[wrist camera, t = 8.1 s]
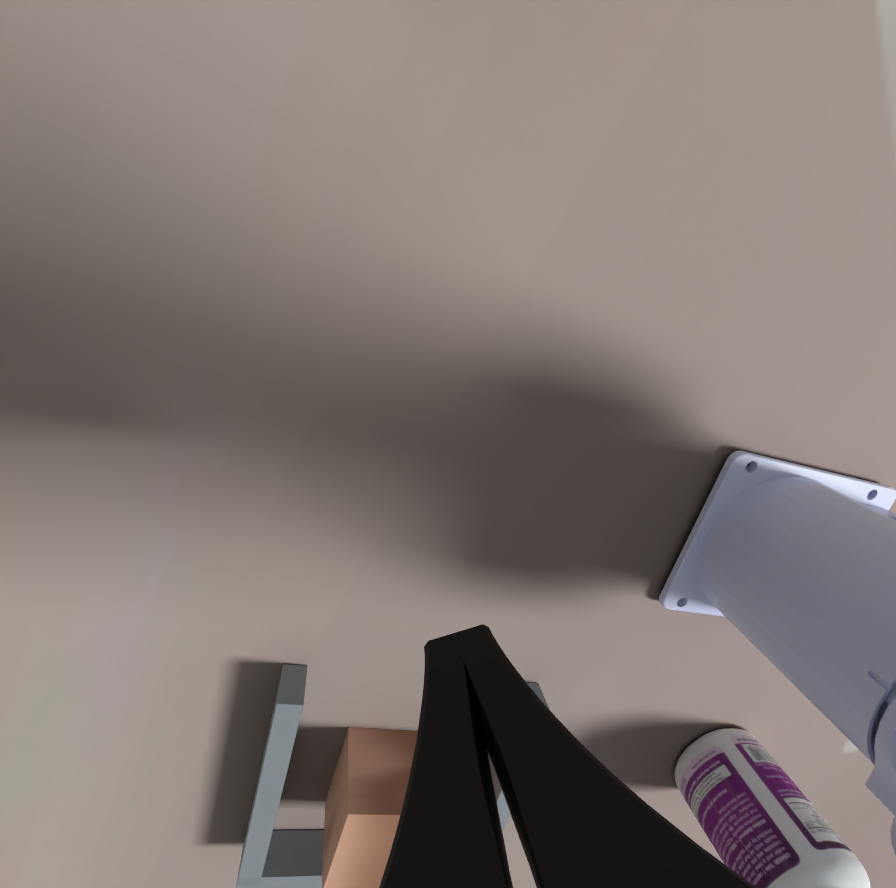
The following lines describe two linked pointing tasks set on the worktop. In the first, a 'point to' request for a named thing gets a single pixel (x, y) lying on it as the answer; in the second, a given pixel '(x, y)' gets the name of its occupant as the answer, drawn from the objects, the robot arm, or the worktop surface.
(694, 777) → the pill bottle
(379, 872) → the terracotta block
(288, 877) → the slate bay
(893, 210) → the worktop surface
